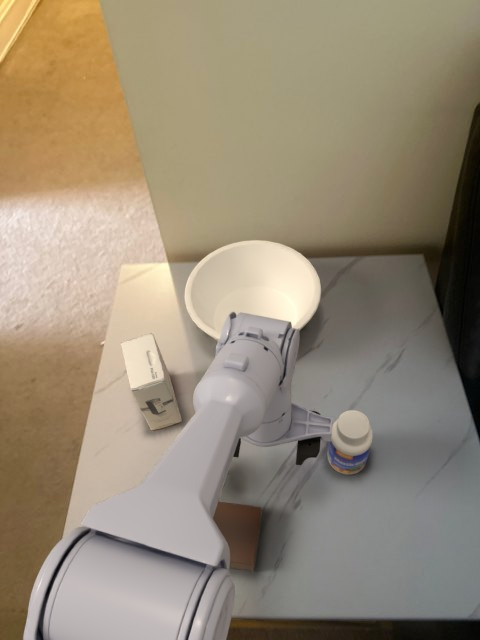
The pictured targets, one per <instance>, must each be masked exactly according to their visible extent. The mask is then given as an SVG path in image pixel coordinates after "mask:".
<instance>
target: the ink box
mask: <svg viewBox="0 0 480 640" xmlns="http://www.w3.org/2000/svg"><path fill="white" fill-rule="evenodd" d="M120 347H121V351H122V356H123V360H124V365H125V369H126V374H127V379H128V383H129V388H130V391H131V394H132V395H133V397H134V400H135V401H136V403H137V405H138V407H139V409H140V411H141V414H142V415H143V417H144V419H145V421H146V423H147V425H148V427H149V429H150V431H156V430H159V429H163V428H167V427H170V426H174V425H176V424H178V423H181V422H182V421H183V419H182V415H181V412H180V411H181V410H180V408H179V404H178V401H177V398H176V397H177V396H176V394H175V390H174V386H173V383H172V379H171V376H170V373H169V370H168V368H167V365H166V363H165V360H164V357H163V354H162V353H161V350H160V348H159V344H158V343H157V340H156V337H155V335H154V334H153V333H152V332H149V333H147V334H143V335H140V336H137V337H134V338H130V339H127V340H124V341H122V342H120Z"/></svg>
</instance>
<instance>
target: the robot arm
mask: <svg viewBox="0 0 480 640" xmlns="http://www.w3.org/2000/svg"><path fill="white" fill-rule="evenodd" d="M300 340H301V339H300V331H299V328H298V329H296V328H292V323H291V322H289V321H284V320H279V319H274V318H269V317H263V316H258V315H253V314H248V313H242V312H240V313H239V314H238V315H236V313H235V312H231V313H230V314H229V315H228V316H227V318H226V321H225V323H224V326H223V329H222V333H221V336H220V339H219V340H218V341H217V343H216V346H215V357H214V359H213V360H212V362H211V363H210V365H209V366H208V368H207V370H206V371H205V373H204V374H203V376H202V377H201V379H200V380H199V382H198V383H197V384H196V386H195V388H194V390H193V395H192V396H193V397H192V406H193V411H194V412H195V413H194V414H193V415H192V416H191V418H190V419H189V420H188V422H187V423H186V425H184V427H183V428H182V430H181V431H180V432H179V433H178V435H176V437H175V439H174V440H173V441H172V442H171V443H170V445H169V446H168V447H167V449H165V451H164V452H163V453H162V455H161V456H160V457H159V459H158V460H157V461H156V462H155V463H154V464H153V466H152V467H151V468H150V470H149V471H148V472H147V474H145V476H144V478H143V479H142V480H141V481H140V483H139V484H138V485H137V486H135V487H132V488H130V489H127V490H125V491H123V492H121V493H118V494H116V495H114V496H111V497H109V498H106V499H104V500H102V501H99V502H96V503H95V504H93V505H92V506H91V507H90V508H89V509H88V510H87V512H86V514H85V515H84V517H83V519H82V521H81V522H80V526H78V527H76V528H74V529H73V530H71V531H69V532H68V534H66V535H65V536H63V538H61V539H60V540H59V541H58V542H57V543H56V544H55V546H54V547H53V548H52V549H51V551H50V552H49V553H48V555H47V556H46V558H45V560H44V562H43V563H42V565H41V567H40V570H39V571H38V574H37V576H36V578H35V581H34V584H33V587H32V590H31V593H30V596H29V601H28V606H27V617H26V621H25V622H26V623H25V626H24V631H23V636H22V640H227V637H228V634H229V629H230V625H231V620H232V616H233V611H234V605H235V597H236V585H235V583H234V581H233V579H232V576H231V573H230V568H229V566H230V550H229V546H228V543H227V541H226V540H225V538H224V536H223V535H222V533H221V531H220V530H219V528H218V527H217V525H216V523H215V522H214V520H213V516H214V513H215V510H216V507H217V504H218V502H220V498H221V496H222V492H223V488H224V486H225V483H226V480H227V477H228V474H229V471H230V468H231V465H232V462H233V460H234V459H233V458H237V459H238V458H239V457H240V450H241V444H242V440H243V441H245V442H247V443H249V444H251V445H253V446H256V447H260V448H271V447H276V446H280V445H285V444H290V443H294V442H297V446H296V455H295V456H296V457H295V465H296V466H302V465H303V464H304V462H306V460H309V459H311V458H312V459H313V458H314V459H316V458H318V456H319V454H320V451H321V441H322V442H328V443H329V442H331V436H332V425H333V423H334V417H332V416H325V415H322V414H321V413H320V412H318V411H316V410H309V409H307V408H305V407H302V406H300V405H298V404H296V403H293V402H292V380H293V376H294V373H295V369H296V363H297V359H298V354H299V348H300Z"/></svg>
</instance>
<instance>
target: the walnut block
mask: <svg viewBox="0 0 480 640" xmlns="http://www.w3.org/2000/svg"><path fill="white" fill-rule="evenodd" d="M262 511H263V510H262V507H259V506H253V505H246V504H238V503H230V502H223V501H218V504H217V507H216V510H215V513H214V516H213V520H214V522H215V523H216V525H217V527H218V528H219V530H220V531H221V533H222V535H223V536H224V538H225V540H226V541H227V543H228V546H229V550H230V566H229V569H234V570H241V571H247V572H255V571H256V563H257V556H258V548H259V543H260V533H261V527H262V519H263V512H262Z"/></svg>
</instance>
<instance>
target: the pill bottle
mask: <svg viewBox="0 0 480 640" xmlns="http://www.w3.org/2000/svg"><path fill="white" fill-rule="evenodd" d="M373 437H374V434H373V430H372V427H371V424H370V421H369V418H368V417H367V415H365V413H363V412H361V411H359V410H355V409H350V410H346V411H344V412H342V413H341V414H340V415H339V417H338V418H337V419H336V420H334V421H333V424H332V436H331V442H328V444H327V453H326V455H327V461H328V463H329V465H330V466H331V467H332V469H333V470H335V471H336V472H338V473H340V474H343V475H355V474H358V473H359V472H361V471H362V470H363V469H364V468H365V466H366V464H367V461H368V458H369V454H370V450H371V447H372V443H373V440H374V439H373Z"/></svg>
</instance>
